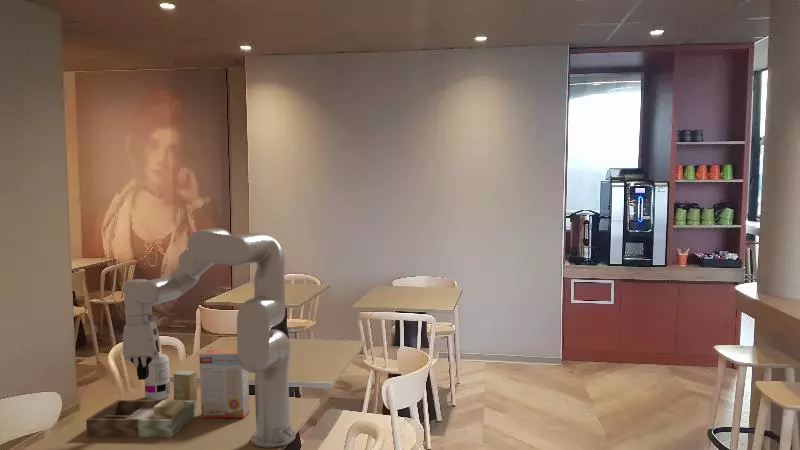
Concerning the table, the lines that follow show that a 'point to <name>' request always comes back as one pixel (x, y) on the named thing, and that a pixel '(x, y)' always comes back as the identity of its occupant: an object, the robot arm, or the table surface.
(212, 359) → the cracker box
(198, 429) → the table surface
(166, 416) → the maple block
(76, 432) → the table surface
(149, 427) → the track
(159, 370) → the supplement can
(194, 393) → the skincare box
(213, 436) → the table surface
